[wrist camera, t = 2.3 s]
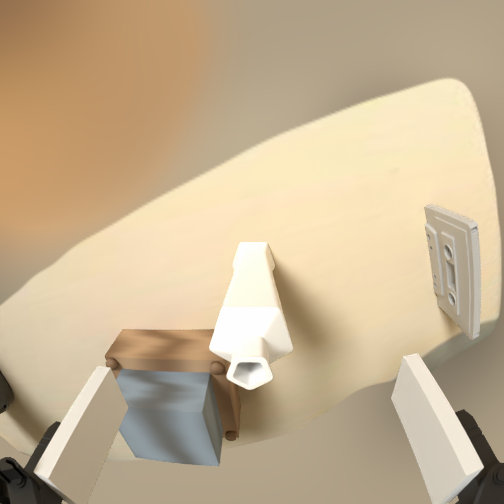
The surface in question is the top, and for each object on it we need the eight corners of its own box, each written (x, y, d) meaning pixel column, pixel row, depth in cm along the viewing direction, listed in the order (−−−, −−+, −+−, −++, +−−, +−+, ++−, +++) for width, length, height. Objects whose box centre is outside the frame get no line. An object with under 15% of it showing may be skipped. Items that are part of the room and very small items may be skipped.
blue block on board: (150, 403, 34) (128, 461, 24) (122, 329, 30) (83, 388, 21) (240, 406, 33) (236, 472, 24) (229, 328, 30) (218, 400, 20)
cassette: (419, 206, 25) (465, 226, 18) (434, 200, 25) (481, 219, 18) (434, 307, 29) (468, 344, 21) (446, 300, 28) (482, 335, 21)
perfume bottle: (229, 284, 28) (205, 404, 14) (227, 239, 27) (195, 337, 12) (278, 284, 28) (295, 406, 14) (279, 239, 26) (303, 338, 12)
